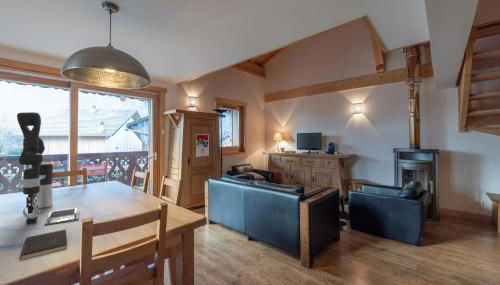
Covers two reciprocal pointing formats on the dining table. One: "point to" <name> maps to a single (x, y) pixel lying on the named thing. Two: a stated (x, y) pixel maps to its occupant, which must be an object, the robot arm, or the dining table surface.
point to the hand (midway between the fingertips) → (31, 211)
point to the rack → (62, 216)
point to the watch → (33, 218)
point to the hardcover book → (44, 243)
